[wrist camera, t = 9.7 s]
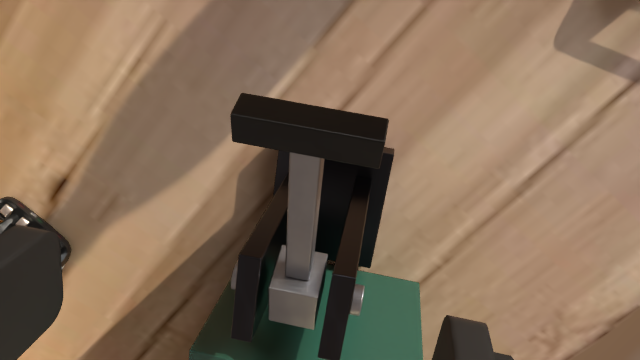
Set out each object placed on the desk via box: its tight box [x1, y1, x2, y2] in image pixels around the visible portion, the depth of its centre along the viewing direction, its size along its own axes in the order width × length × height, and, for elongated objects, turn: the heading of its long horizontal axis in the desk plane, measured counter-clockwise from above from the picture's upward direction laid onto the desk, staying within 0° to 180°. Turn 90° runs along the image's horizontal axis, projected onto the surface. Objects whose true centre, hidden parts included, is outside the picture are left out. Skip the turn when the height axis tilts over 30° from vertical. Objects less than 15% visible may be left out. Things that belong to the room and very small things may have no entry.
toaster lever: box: [231, 93, 389, 330], centre depth 21 cm, size 12×5×2 cm, turn 172°
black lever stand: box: [231, 147, 394, 360], centre depth 28 cm, size 8×7×13 cm
